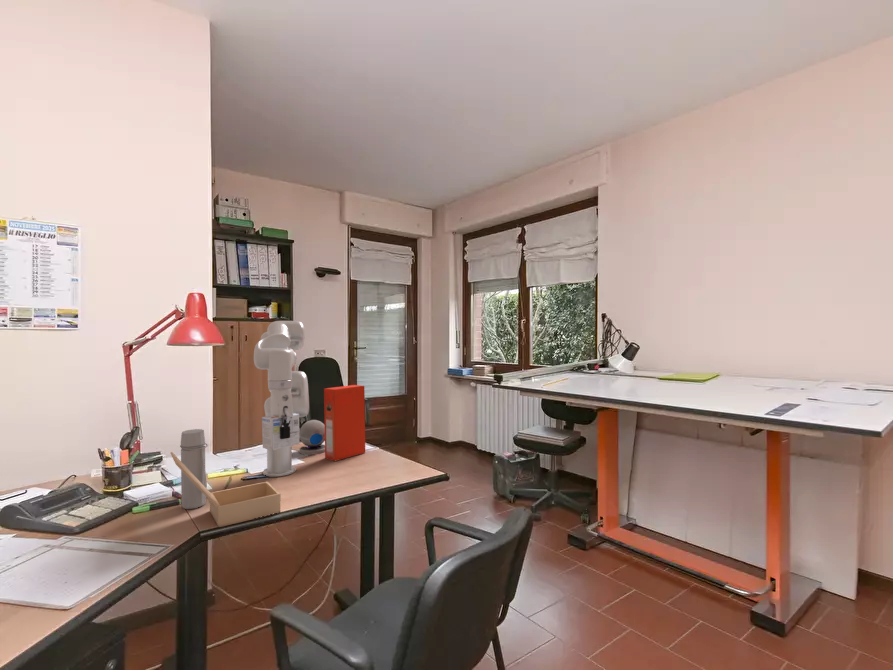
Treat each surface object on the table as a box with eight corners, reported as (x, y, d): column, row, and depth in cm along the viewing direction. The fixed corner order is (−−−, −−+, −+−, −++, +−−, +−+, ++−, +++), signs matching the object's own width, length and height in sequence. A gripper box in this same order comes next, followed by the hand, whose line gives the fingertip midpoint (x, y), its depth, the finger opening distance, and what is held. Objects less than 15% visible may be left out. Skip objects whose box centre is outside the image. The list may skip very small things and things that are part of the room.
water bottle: (175, 508, 148) (174, 432, 148) (196, 500, 156) (195, 428, 155) (195, 512, 145) (194, 435, 145) (216, 503, 152) (215, 429, 152)
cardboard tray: (209, 511, 146) (209, 492, 146) (267, 498, 157) (267, 481, 157) (218, 527, 134) (218, 507, 134) (280, 512, 145) (280, 493, 145)
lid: (209, 491, 146) (207, 493, 146) (171, 451, 140) (170, 453, 139) (218, 506, 134) (216, 507, 134) (177, 462, 128) (175, 464, 127)
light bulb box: (289, 441, 162) (288, 411, 161) (300, 444, 157) (300, 413, 157) (261, 448, 153) (261, 416, 153) (272, 451, 149) (272, 418, 149)
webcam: (323, 446, 228) (323, 416, 228) (330, 452, 217) (330, 421, 216) (297, 449, 221) (296, 419, 221) (302, 456, 210) (302, 423, 210)
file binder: (324, 458, 206) (324, 388, 206) (354, 450, 220) (353, 384, 219) (335, 461, 201) (334, 389, 201) (365, 453, 215) (364, 385, 214)
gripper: (300, 386, 151) (300, 439, 151) (282, 382, 164) (283, 430, 164) (277, 388, 146) (278, 442, 146) (261, 383, 160) (262, 433, 160)
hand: (280, 436), depth 155 cm, fingers closed on light bulb box, 7 cm apart
